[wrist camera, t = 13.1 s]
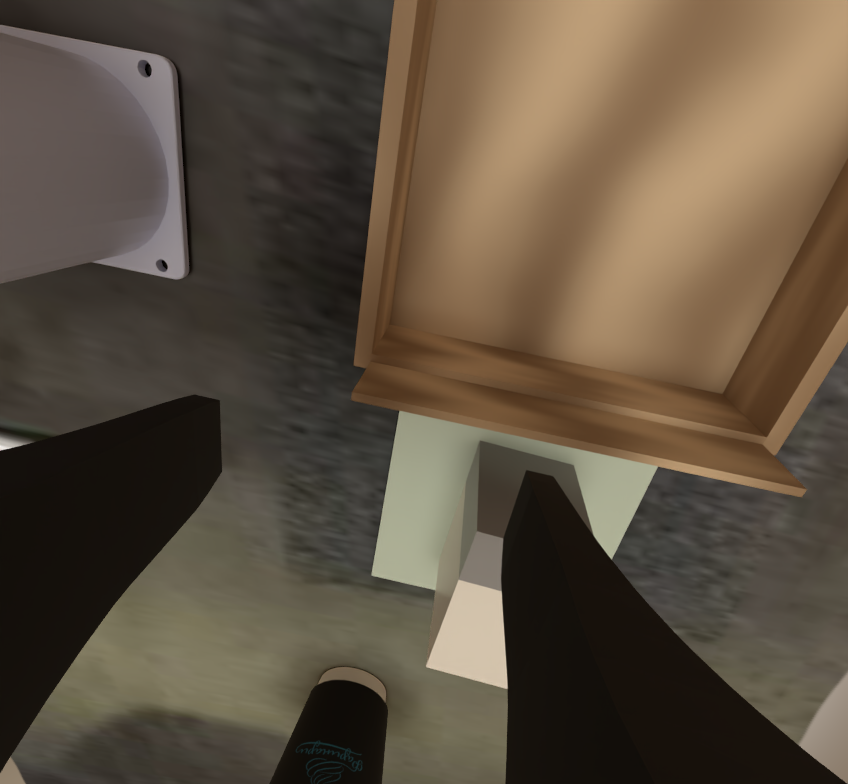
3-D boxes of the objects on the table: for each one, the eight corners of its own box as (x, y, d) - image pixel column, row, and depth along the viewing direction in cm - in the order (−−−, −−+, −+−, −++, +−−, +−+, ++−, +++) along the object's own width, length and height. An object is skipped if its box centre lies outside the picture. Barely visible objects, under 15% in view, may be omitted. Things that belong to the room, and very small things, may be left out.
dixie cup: (371, 640, 30) (313, 875, 20) (429, 712, 32) (403, 951, 22) (276, 664, 32) (182, 884, 22) (336, 730, 35) (276, 951, 25)
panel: (373, 568, 27) (371, 575, 26) (404, 386, 21) (402, 390, 21) (578, 615, 26) (579, 623, 26) (663, 441, 21) (667, 447, 20)
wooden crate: (377, 330, 20) (332, 396, 14) (491, -529, 11) (494, -1364, 5) (723, 402, 20) (821, 501, 14) (1174, -435, 10) (2101, -1249, 4)
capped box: (439, 560, 25) (425, 667, 20) (479, 440, 21) (476, 531, 16) (519, 581, 25) (527, 694, 20) (573, 465, 21) (601, 564, 16)
